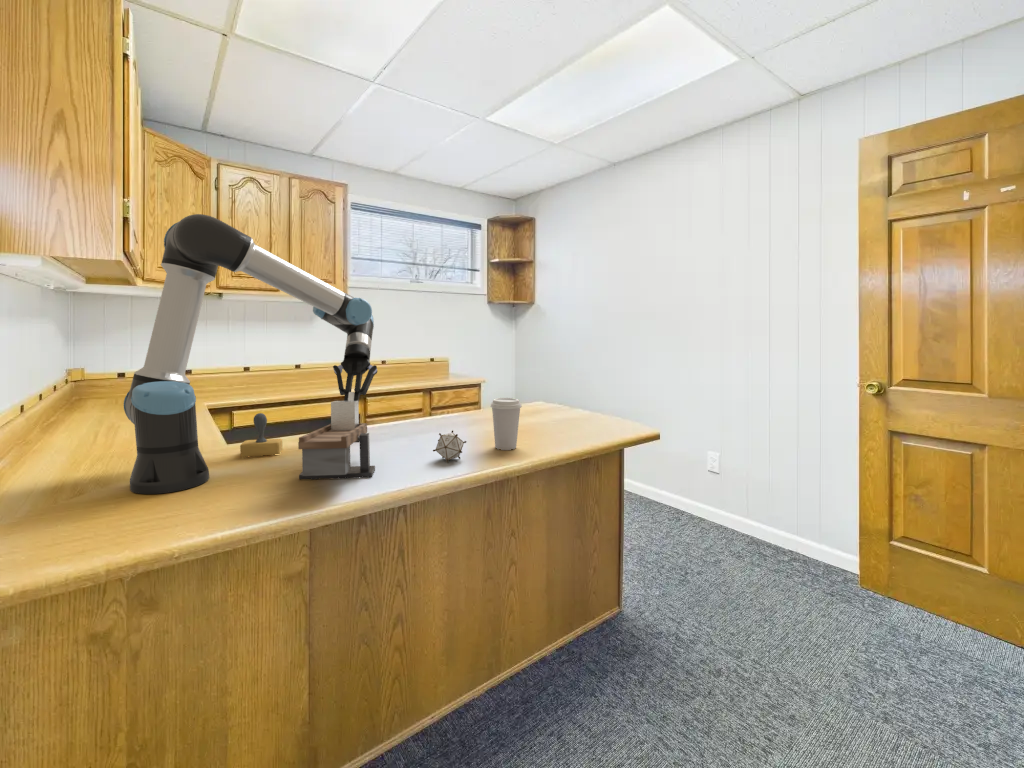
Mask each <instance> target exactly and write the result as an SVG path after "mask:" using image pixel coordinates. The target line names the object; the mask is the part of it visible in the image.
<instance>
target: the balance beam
mask: <svg viewBox="0 0 1024 768" xmlns="http://www.w3.org/2000/svg"><path fill="white" fill-rule="evenodd" d="M361 433H368V424H367V423H362V422H360V423H359V426H358V427H356V428H355V429H353V430H339V431H331V423H329V424H328V425H325V426H323V427H321V428H318V429H316V430H313V431H311V432H308V433H306V434H303V436H300V437H298V441H297V443H298V444H297V445H298V446H297V447H298V450H301V456H302V457H301V459H302V460H301V461H302V462H301V463H302V464H301V465H302V468H301V469H302V471H301V473H302V472H303V476H319V475H346V473H347V472H348V471H349V470H350V466H351V446H352V444H354V443H355V444H356V443H360V441H359V435H360V434H361Z"/></svg>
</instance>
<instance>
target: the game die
mask: <svg viewBox="0 0 1024 768" xmlns="http://www.w3.org/2000/svg"><path fill="white" fill-rule="evenodd" d="M438 435H439V439H438V440H437V444H436V447H435V449H433V450H432V452H436V453H438V454H439V455H440V456H441V457H442V459H445V460H446V461H445V462H446V464H448V462H449V461H450V460H453V459H456V458H458V459H459V460H461V457H460V455H461V454H462V453H463V447H464V444H466V443H467V441H466V440H464V441H463V440H462V439H461V438H460V437H458V436H459V434H457V433H454V430H453V429H452V430H451V432H449V433H445V434H442V433H440V432H439V434H438Z"/></svg>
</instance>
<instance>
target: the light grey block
mask: <svg viewBox="0 0 1024 768" xmlns="http://www.w3.org/2000/svg"><path fill="white" fill-rule="evenodd" d="M359 402H360V400H359V401H344V400H334V401H331V402H330V424H331V431H339V430H353V429H355V428H356V427H358V426H359V424H360V423H359V422H360V418H359V417H360V414H359V410H360V409H359V406H360V405H359Z"/></svg>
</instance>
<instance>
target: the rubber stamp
mask: <svg viewBox="0 0 1024 768" xmlns="http://www.w3.org/2000/svg"><path fill="white" fill-rule="evenodd" d="M267 424H268V418H267V416H266V414H264V413H262V412H259V413H256V414H255V415H254V416H253V425H254V427H255V429H256V431H257V434H258V438H257V439H246V440H244V441H243V442H242V443H241V444H240V445H239V447H240V448H239V449H240V451H239V452H240V458H249V457H248V456H255V457H263V456H262V455H272V456H276V455H275V454H280V452H281V451H282V450H284V449H283V439H282V438H267V439H266V438H265V436H264V433H265V430H266V427H267ZM282 452H283V451H282ZM282 452H281V453H282ZM280 455H281V454H280Z"/></svg>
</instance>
